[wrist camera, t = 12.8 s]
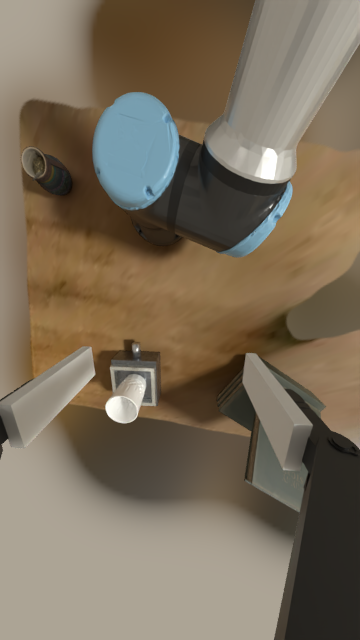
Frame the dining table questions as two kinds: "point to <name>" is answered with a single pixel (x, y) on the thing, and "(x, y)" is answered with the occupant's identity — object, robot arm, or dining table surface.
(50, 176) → the mate gourd
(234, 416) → the book stack
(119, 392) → the white cup
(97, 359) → the dining table surface
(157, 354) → the grey open box
